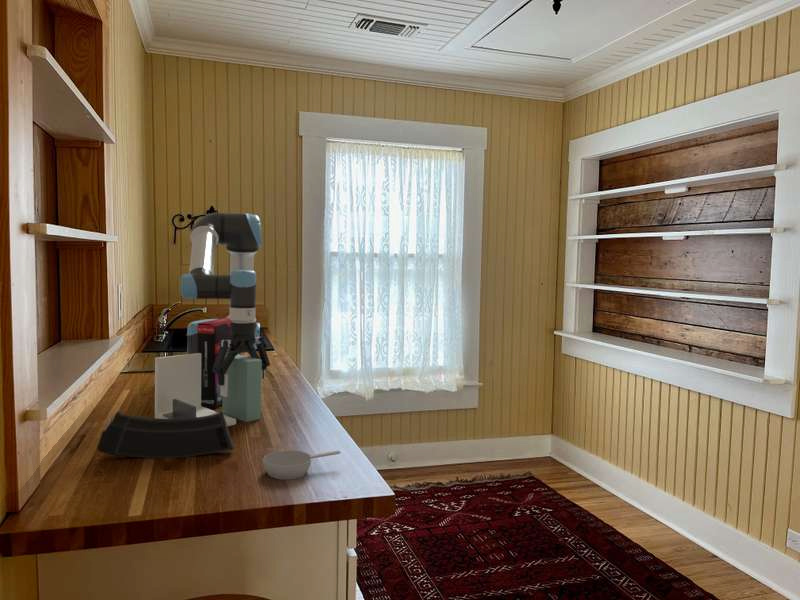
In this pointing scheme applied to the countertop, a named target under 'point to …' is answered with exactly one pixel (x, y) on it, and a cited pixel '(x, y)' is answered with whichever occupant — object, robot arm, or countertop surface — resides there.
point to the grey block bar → (181, 410)
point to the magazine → (165, 436)
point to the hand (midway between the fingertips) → (241, 392)
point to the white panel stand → (180, 385)
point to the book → (243, 389)
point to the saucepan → (290, 463)
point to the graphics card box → (211, 358)
